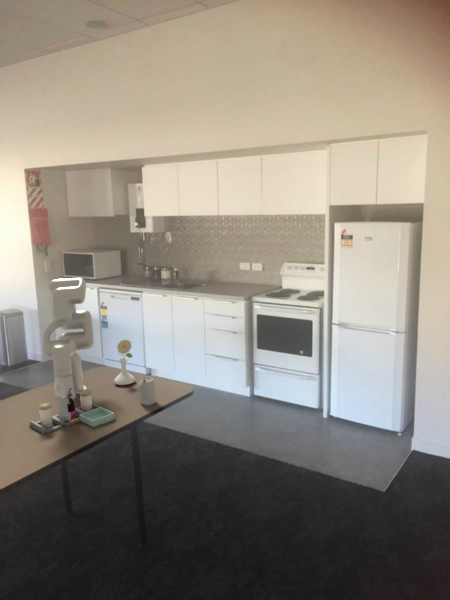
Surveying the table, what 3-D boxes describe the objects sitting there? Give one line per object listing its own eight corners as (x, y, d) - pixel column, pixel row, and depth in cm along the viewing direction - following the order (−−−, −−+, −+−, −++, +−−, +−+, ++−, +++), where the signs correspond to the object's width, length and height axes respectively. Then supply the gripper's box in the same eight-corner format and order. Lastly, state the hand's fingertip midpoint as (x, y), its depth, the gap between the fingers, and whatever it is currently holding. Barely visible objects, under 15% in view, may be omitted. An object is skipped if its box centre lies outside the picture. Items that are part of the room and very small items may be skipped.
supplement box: (70, 422, 225) (68, 398, 222) (58, 421, 226) (55, 397, 224) (76, 417, 230) (74, 393, 228) (65, 416, 231) (62, 392, 229)
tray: (79, 420, 226) (78, 414, 225) (100, 413, 234) (100, 406, 233) (93, 427, 218) (92, 421, 218) (115, 419, 226) (114, 413, 226)
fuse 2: (79, 412, 235) (77, 392, 233) (89, 409, 239) (87, 389, 237) (85, 415, 231) (83, 394, 230) (95, 412, 235) (93, 391, 233)
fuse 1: (38, 427, 221) (36, 405, 219) (49, 423, 224) (47, 402, 223) (44, 430, 217) (42, 408, 215) (55, 426, 221) (53, 404, 219)
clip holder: (29, 426, 222) (28, 421, 221) (89, 405, 243) (88, 400, 243) (43, 434, 213) (42, 429, 212) (104, 412, 234) (103, 407, 234)
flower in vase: (109, 384, 272) (106, 339, 267) (125, 378, 281) (122, 334, 276) (126, 389, 264) (122, 342, 259) (142, 382, 273) (139, 337, 268)
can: (141, 400, 247) (139, 377, 245) (156, 399, 247) (155, 376, 245) (139, 406, 239) (138, 382, 237) (155, 405, 240) (154, 381, 238)
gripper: (45, 370, 227) (49, 407, 230) (65, 378, 215) (69, 416, 218) (60, 365, 232) (64, 402, 236) (81, 373, 221) (84, 411, 224)
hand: (66, 408), depth 227 cm, fingers closed on supplement box, 7 cm apart
